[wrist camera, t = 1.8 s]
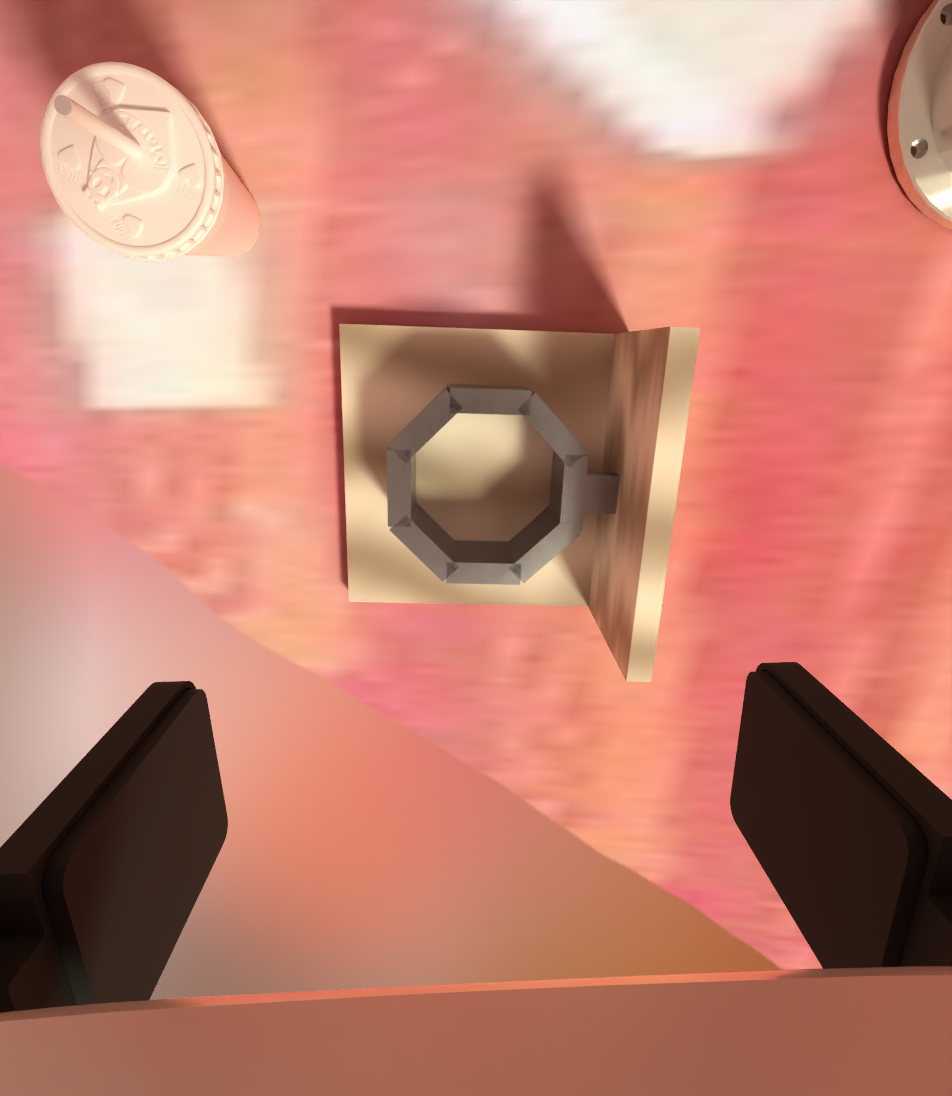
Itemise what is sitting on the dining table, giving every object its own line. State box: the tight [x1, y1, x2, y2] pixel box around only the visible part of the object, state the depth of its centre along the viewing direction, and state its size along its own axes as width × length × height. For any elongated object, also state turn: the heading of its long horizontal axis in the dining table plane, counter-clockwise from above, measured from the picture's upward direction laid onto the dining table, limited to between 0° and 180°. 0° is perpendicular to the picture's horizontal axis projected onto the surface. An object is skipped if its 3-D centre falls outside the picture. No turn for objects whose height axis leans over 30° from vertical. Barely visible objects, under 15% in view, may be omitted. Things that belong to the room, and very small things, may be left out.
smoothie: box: [40, 62, 260, 261], centre depth 25 cm, size 6×6×14 cm
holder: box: [339, 324, 700, 682], centre depth 31 cm, size 16×16×10 cm
